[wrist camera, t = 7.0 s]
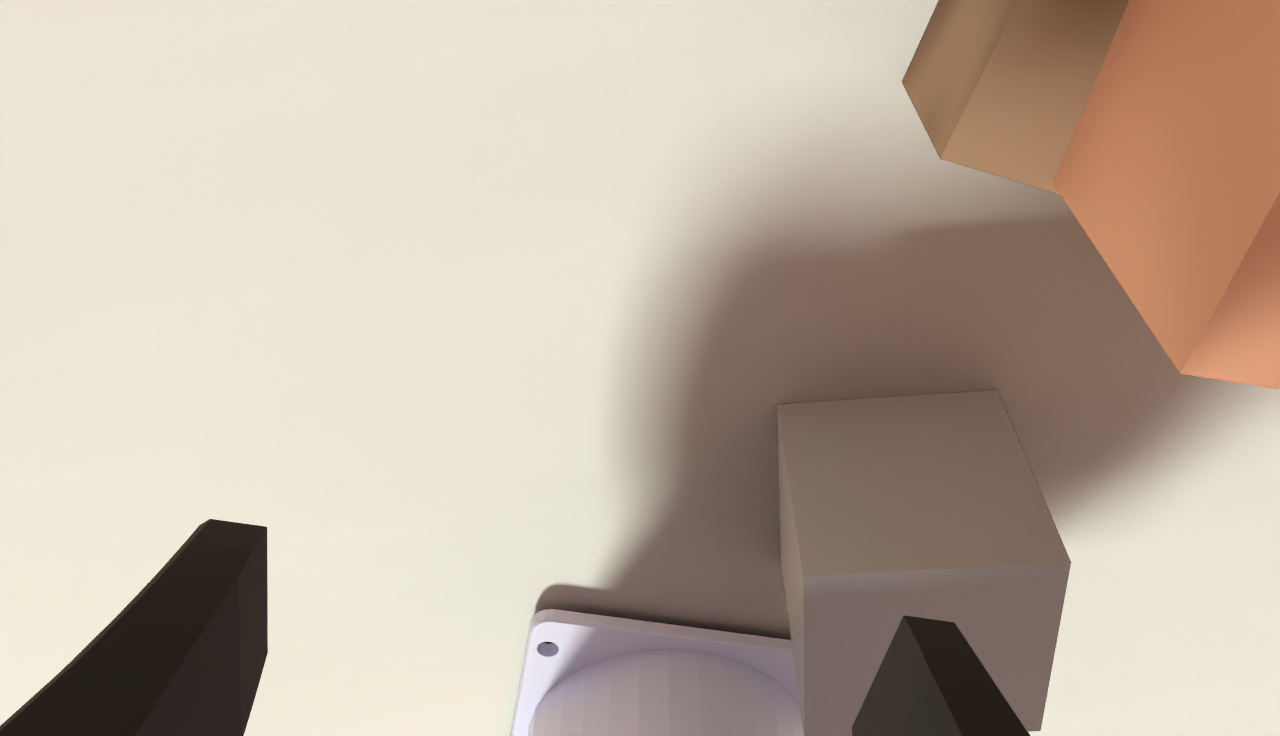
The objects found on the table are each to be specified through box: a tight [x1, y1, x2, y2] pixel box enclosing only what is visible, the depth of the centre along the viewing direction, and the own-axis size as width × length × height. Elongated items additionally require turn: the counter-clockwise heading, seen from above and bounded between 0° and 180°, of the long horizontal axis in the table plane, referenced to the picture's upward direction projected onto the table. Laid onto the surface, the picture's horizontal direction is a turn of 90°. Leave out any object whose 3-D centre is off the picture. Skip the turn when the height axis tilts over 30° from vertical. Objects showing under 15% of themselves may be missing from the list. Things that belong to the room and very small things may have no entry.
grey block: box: [777, 390, 1071, 736], centre depth 22 cm, size 4×4×5 cm
